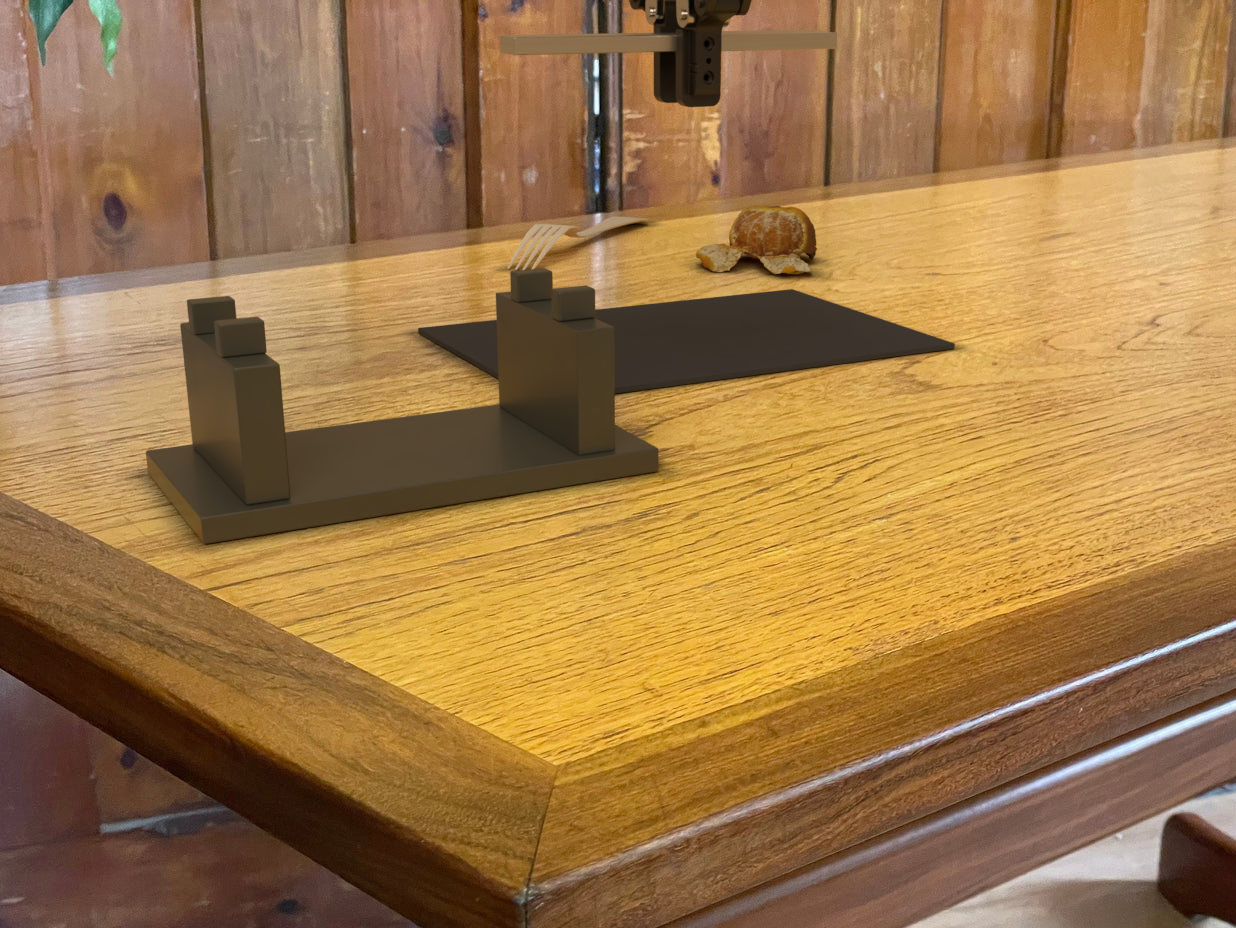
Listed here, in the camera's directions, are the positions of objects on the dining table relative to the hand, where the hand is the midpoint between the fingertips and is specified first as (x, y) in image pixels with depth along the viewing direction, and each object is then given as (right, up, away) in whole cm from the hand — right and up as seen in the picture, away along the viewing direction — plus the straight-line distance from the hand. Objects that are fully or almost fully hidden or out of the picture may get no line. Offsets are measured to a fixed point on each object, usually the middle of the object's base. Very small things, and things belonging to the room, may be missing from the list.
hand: (687, 102), depth 82 cm
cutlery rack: (-11, -20, -18) cm, 29 cm away
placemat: (0, -12, +4) cm, 12 cm away
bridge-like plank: (-1, +2, -1) cm, 3 cm away
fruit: (+4, -4, +25) cm, 26 cm away
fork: (-8, -2, +32) cm, 33 cm away
